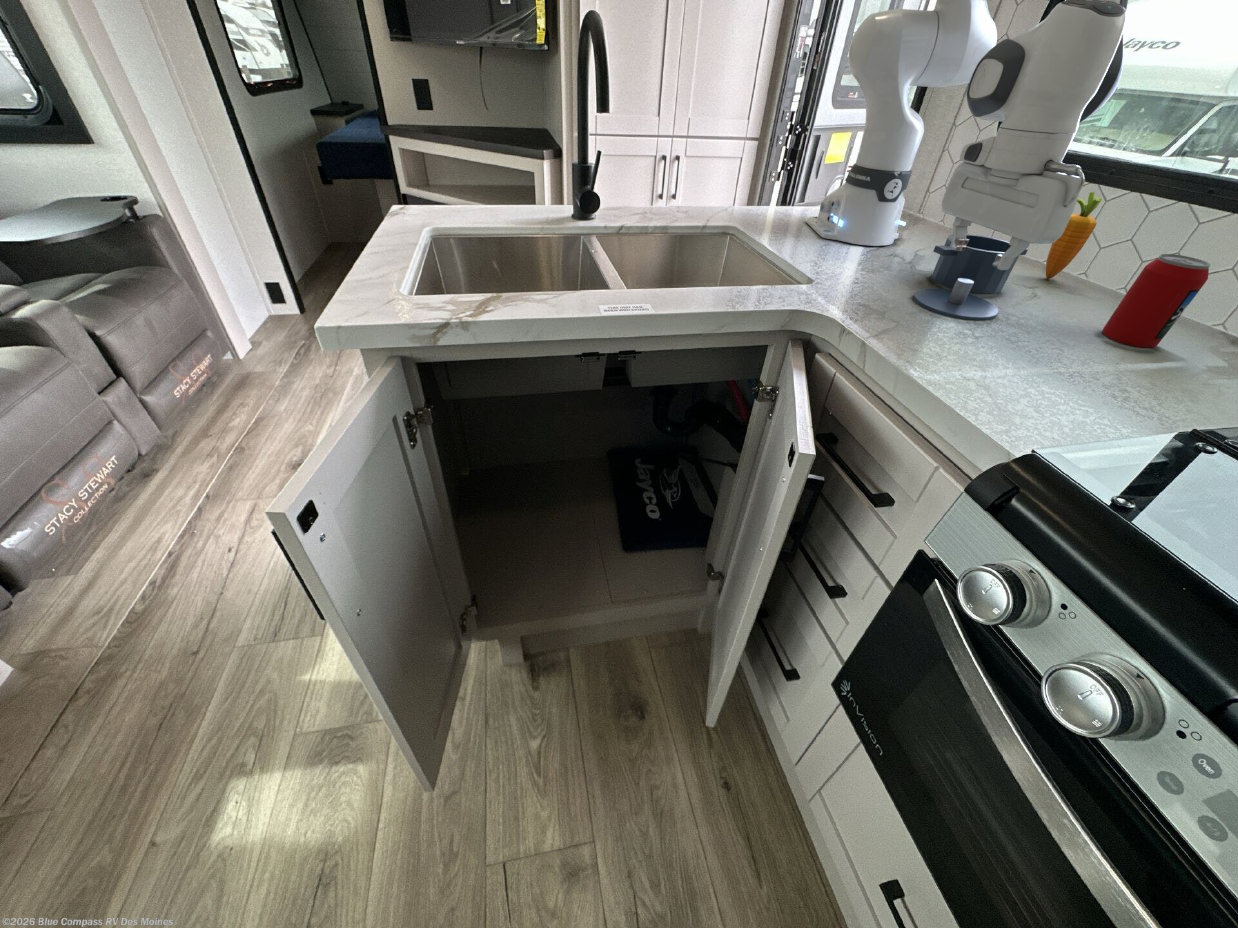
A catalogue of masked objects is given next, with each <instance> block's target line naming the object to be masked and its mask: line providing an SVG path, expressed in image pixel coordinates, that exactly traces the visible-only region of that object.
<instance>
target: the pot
mask: <svg viewBox="0 0 1238 928" xmlns="http://www.w3.org/2000/svg"><path fill="white" fill-rule="evenodd" d="M966 239H969V242H968V244H967V245H966V248H965V250H964V251H955V250H952V249H950V245H951V242H952V240H953V234H950V235H948V237H947V238H946V241H945V243H944V245H935V246H934V248H933V251H932V252H934V253H936V254H938V255H939V256H938V260H937V262H936V264H935V265H934V268H933V271H932V273H931V276H930V279H931V280H932V281H933V282H934V283H936V284H938V285H939V286H942V287H944V288H947V289H949V290H953V287H954V285H955V283H956V281H957V279H958V278H965V279H969V280H972V281H973V282H974V284H973V286H972V288H971V290H970V292H969V294H971V295H981V296H984V295H986V296H987V295H988V296H989V295H992V296H993V295H996V294H1000V293H1001V292H1002V291H1003V288H1004V286H1005V284H1006V283H1007V281H1008V279H1009V276H1010V274H1011V273H1012V271H1013V269H1014V267H1015V265H1016V263H1017V261H1018V259H1019V257H1020V256H1026V254H1027V252H1028V251H1029V248H1027V249H1026V250H1024V251H1023V252H1022V253H1021V254H1020V255H1018V256H1017V257H1016V258H1014V260H1013V262H1012V264H1011V266H1010V268H1009V269H1008V270H999V269H997V268H995V267H993V266H992V264H993V262H994V261H995V258H996V256H997V255H1003V254H1004V253H1005V252H1006V251H1007V250H1008V249H1009V248H1010V247H1011V246H1012V245H1009V242H1010V241H1008V240H1004V239H1000V238H996V237H991V236H987V235H978V234H970V233H969V234H968V233H967V235H966Z"/></svg>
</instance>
